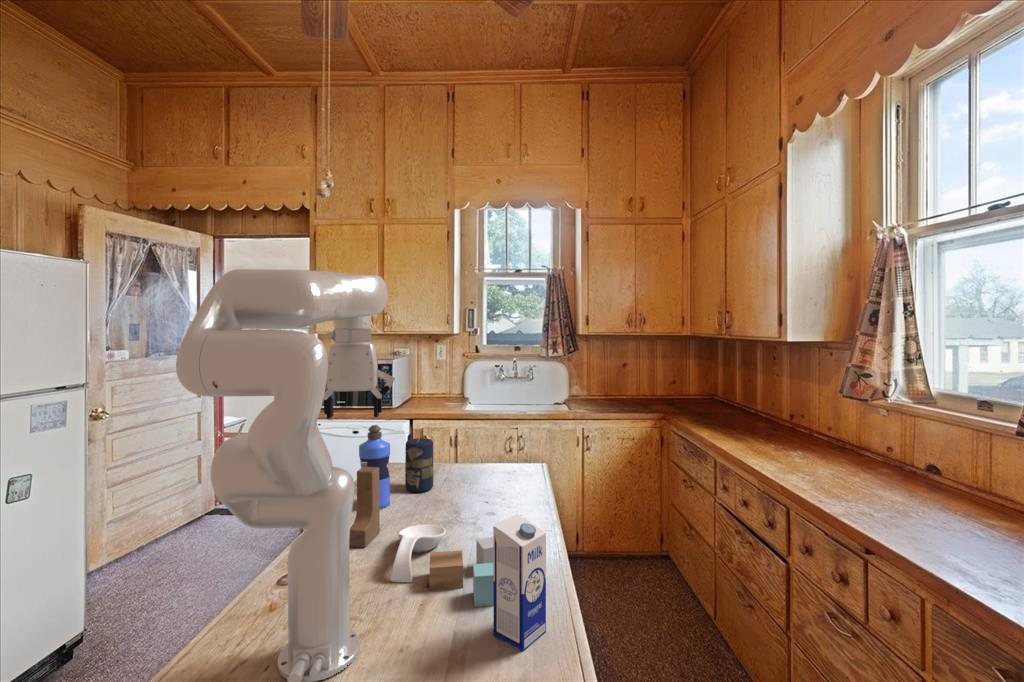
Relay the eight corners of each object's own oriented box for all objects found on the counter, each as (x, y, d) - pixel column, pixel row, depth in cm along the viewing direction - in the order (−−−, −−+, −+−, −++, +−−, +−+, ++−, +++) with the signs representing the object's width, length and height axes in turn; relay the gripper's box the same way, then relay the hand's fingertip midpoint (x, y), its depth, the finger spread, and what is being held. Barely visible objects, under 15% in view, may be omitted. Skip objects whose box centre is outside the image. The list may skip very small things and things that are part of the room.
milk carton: (517, 617, 89) (517, 512, 88) (546, 631, 84) (546, 521, 84) (492, 635, 83) (492, 524, 83) (522, 652, 79) (522, 534, 79)
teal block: (499, 604, 93) (499, 574, 93) (474, 606, 92) (474, 576, 92) (497, 590, 98) (497, 562, 98) (473, 592, 97) (473, 564, 97)
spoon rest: (406, 535, 125) (406, 509, 125) (449, 537, 124) (449, 510, 124) (375, 583, 101) (375, 550, 101) (429, 585, 100) (429, 552, 100)
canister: (400, 492, 158) (399, 439, 157) (413, 483, 167) (413, 433, 166) (425, 495, 155) (425, 441, 155) (438, 486, 164) (438, 435, 164)
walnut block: (463, 588, 99) (463, 565, 99) (429, 591, 98) (429, 567, 98) (461, 572, 106) (461, 550, 106) (430, 574, 105) (430, 552, 105)
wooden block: (365, 548, 117) (364, 477, 116) (348, 547, 117) (347, 476, 117) (380, 533, 126) (379, 466, 125) (364, 532, 126) (363, 466, 126)
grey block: (504, 571, 106) (504, 545, 106) (483, 575, 104) (483, 549, 104) (496, 561, 110) (496, 536, 110) (476, 565, 108) (476, 539, 108)
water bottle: (383, 497, 153) (383, 421, 152) (395, 506, 145) (394, 426, 145) (355, 504, 147) (354, 425, 147) (365, 513, 140) (365, 430, 139)
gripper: (305, 338, 95) (306, 421, 96) (392, 337, 98) (393, 419, 99) (314, 337, 103) (315, 415, 103) (395, 337, 106) (396, 412, 106)
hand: (353, 416), depth 101 cm, fingers open, 9 cm apart
